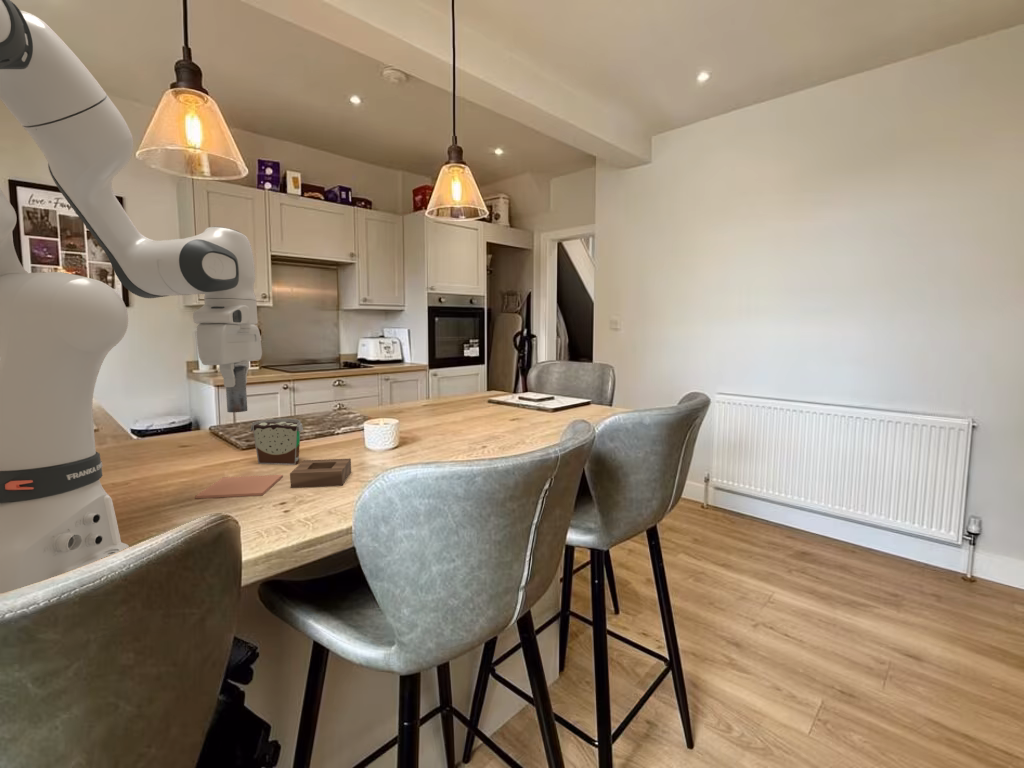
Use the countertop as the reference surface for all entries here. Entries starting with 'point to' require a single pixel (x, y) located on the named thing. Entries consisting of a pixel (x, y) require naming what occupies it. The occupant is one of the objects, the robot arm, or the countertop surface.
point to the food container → (277, 441)
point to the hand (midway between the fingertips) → (235, 385)
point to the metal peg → (237, 390)
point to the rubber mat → (240, 486)
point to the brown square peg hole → (320, 473)
